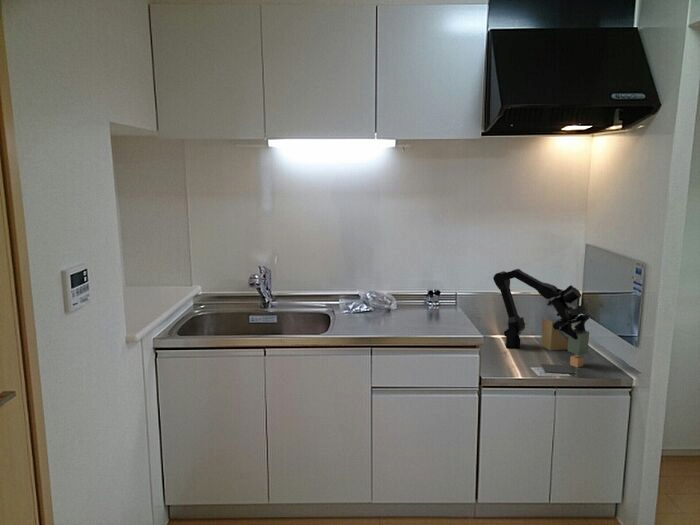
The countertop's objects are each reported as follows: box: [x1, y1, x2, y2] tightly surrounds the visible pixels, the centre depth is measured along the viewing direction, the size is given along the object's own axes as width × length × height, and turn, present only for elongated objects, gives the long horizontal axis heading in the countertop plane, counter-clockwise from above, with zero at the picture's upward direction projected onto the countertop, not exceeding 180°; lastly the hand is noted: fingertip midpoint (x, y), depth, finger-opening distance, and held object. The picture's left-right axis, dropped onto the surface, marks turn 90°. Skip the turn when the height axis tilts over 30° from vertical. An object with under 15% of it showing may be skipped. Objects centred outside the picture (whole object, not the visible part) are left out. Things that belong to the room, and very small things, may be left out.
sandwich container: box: [540, 317, 569, 351], centre depth 250 cm, size 9×15×15 cm, turn 101°
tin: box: [567, 328, 590, 356], centre depth 225 cm, size 6×6×10 cm
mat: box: [540, 363, 575, 375], centre depth 222 cm, size 12×9×1 cm
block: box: [569, 354, 585, 368], centre depth 227 cm, size 4×4×4 cm
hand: (581, 338), depth 223 cm, fingers closed on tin, 6 cm apart
